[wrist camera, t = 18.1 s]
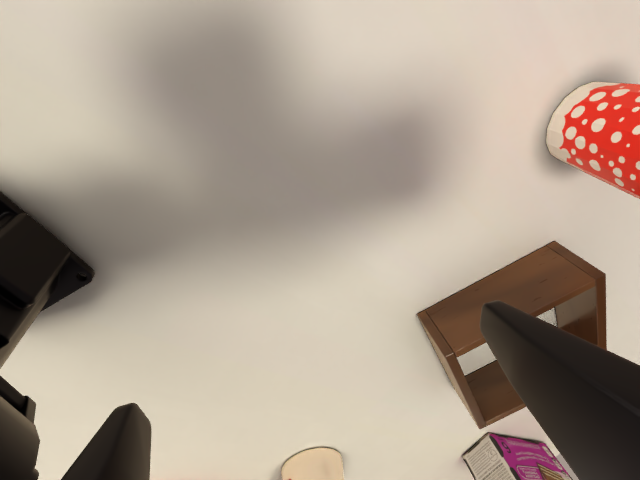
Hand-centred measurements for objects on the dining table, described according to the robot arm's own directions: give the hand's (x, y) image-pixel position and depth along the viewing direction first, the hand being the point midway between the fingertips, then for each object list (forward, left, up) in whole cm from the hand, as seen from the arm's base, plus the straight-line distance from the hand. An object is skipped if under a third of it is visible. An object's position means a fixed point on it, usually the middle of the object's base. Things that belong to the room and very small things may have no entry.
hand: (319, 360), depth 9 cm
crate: (+9, -20, -12) cm, 25 cm away
